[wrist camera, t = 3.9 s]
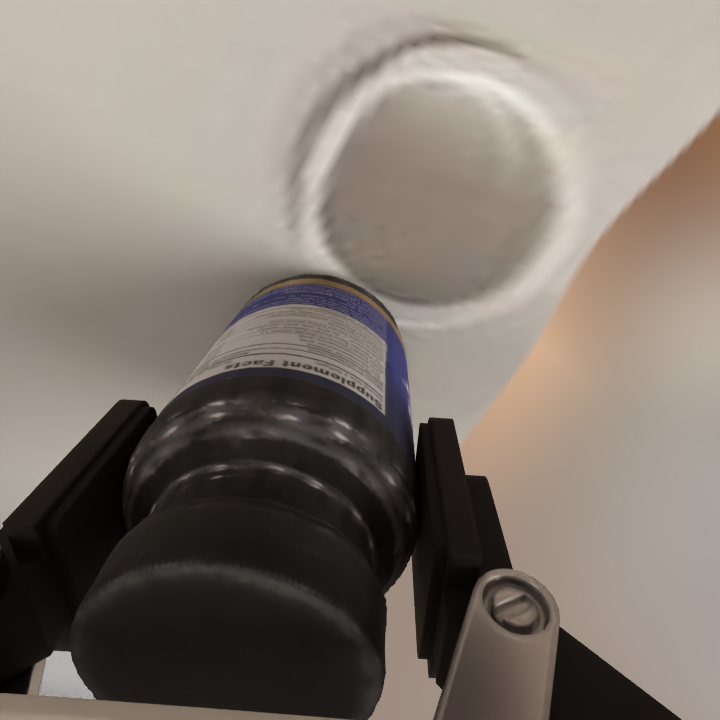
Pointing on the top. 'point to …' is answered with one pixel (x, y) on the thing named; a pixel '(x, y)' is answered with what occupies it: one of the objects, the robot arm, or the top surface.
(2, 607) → the robot arm
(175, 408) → the pill bottle
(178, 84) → the top surface
